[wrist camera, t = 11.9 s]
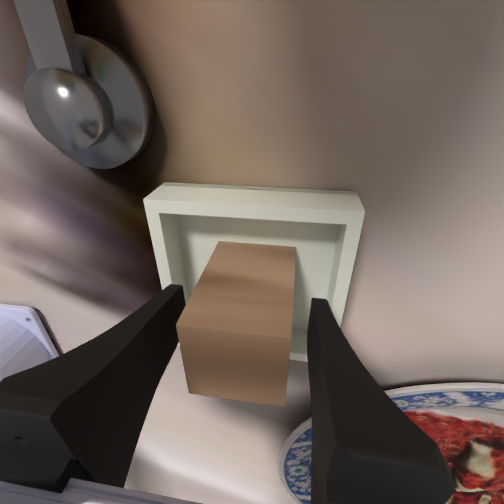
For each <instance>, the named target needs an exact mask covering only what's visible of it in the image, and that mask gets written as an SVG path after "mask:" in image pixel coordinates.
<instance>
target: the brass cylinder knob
mask: <svg viewBox="0 0 504 504" xmlns="http://www.w3.org/2000/svg"><path fill="white" fill-rule="evenodd" d="M14 3H15V6H16V9H17V12H18V15H19V18H20V21H21V24H22V27H23V29H24V32H25V35H26V38H27V41H28V44H29V47H30V50H31V53H32V56H33V59H34V62H35V64H36V67H37V70H35V71H33V72H32V73H31V74H30V75H29V77H28V78H27V80H26V82H25V86H24V103H25V107H26V110H27V113H28V115H29V118H30V119H31V121H32V123H33V125H34V126H35V128H36V129H37V130H38V131H39V133H40V134H41V135H42V136H43V137H44V138H45V139H46V140H48V141H49V142H50V143H52V144H53V145H55V146H57V147H59V148H61V149H64V150H68V151H79V150H83V149H85V148H88V147H91V146H94V145H97V144H99V143H102V142H103V141H104V140H106V139H107V137H108V136H109V134H110V132H111V129H112V125H113V114H112V108H111V105H110V102H109V100H108V98H107V96H106V94H105V92H104V91H103V89H102V88H101V87H100V85H99V84H98V83H97V82H96V81H95V80H94V79H93V78H92V77H90V76H89V75H88V74H86V72H85V68H84V65H83V61H82V57H81V53H80V50H79V46H78V42H77V39H76V35H75V31H74V28H73V24H72V20H71V16H70V13H69V9H68V5H67V2H66V0H14Z"/></svg>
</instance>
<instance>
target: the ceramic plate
mask: <svg viewBox="0 0 504 504" xmlns="http://www.w3.org/2000/svg"><path fill="white" fill-rule="evenodd" d="M384 392H385V393H386V394H387V395H388V396H389V397H390V398H391V399H392V401H393V402H394V403H395V404H396V405H397V406H398V407H399V408H400V409H401V410H402V411H403V412H404V413H405V414H406V415H407V416H408V417H409V418H410V419H411V420H412V421H413V422H414V423H415V424H416V425H417V426H418V427H419V428H420V429H421V430H423V431H424V432H425V433H426V434H427V435H428V436H429V437H430V438H431V439H432V440H434V441H435V442H436V443H437V445H438V447H439V449H440V451H441V453H442V455H443V457H444V459H445V461H446V463H447V465H448V467H449V469H450V472H451V475H452V478H453V480H454V484H455V491H454V493H453V495H452V496H451V498H450V499H449V500H448V501H447V502H446V503H445V504H504V384H498V383H480V382H465V383H443V384H430V385H417V386H409V387H403V388H397V389H392V390H387V391H384ZM311 452H312V417H311V418H309V419H308V420H306V421H305V422H303V423H302V424H301V425H300V426H299V427H297V428H296V429H295V430H294V431H293V432H292V433H291V434H290V436H289V437H288V438H287V439H286V440H285V442H284V444H283V446H282V448H281V451H280V453H279V458H278V472H279V476H280V479H281V481H282V483H283V485H284V487H285V488H286V490H287V491H288V492H289V494H290V495H291V496H292V497H293V498H294V499H295V500H296V501H297V502H298V503H300V504H311Z"/></svg>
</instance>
